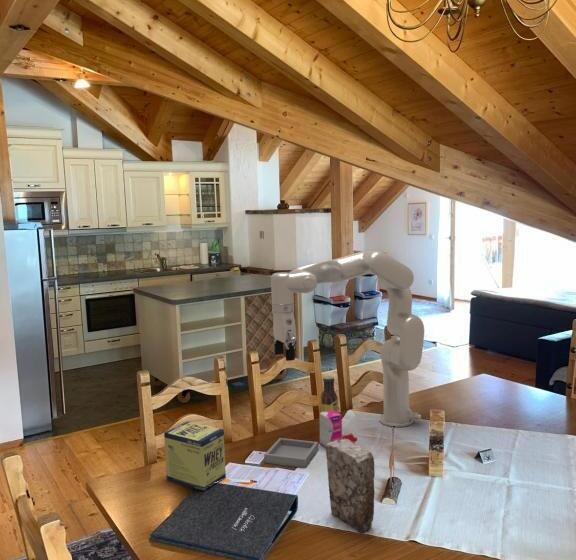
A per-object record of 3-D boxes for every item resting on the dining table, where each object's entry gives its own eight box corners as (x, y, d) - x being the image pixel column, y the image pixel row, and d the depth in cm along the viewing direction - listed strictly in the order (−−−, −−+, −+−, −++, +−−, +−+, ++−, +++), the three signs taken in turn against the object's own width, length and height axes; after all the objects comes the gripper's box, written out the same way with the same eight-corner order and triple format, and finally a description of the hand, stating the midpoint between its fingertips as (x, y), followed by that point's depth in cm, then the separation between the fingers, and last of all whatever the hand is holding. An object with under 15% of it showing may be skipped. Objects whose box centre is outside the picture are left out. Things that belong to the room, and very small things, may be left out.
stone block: (324, 515, 147) (322, 442, 144) (343, 505, 151) (341, 435, 149) (361, 536, 136) (359, 458, 134) (380, 525, 141) (379, 450, 138)
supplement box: (328, 450, 187) (327, 417, 186) (319, 444, 192) (318, 412, 191) (342, 446, 190) (342, 414, 188) (333, 440, 195) (332, 409, 193)
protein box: (204, 492, 161) (201, 441, 159) (165, 480, 169) (162, 431, 168) (227, 477, 170) (224, 428, 168) (189, 466, 178) (186, 420, 176)
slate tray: (318, 450, 187) (318, 442, 187) (305, 468, 174) (305, 459, 174) (280, 445, 192) (279, 437, 192) (264, 462, 179) (264, 454, 179)
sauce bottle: (337, 433, 200) (336, 380, 198) (320, 433, 202) (318, 380, 199) (339, 427, 207) (338, 375, 205) (322, 426, 208) (321, 375, 206)
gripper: (303, 311, 183) (305, 361, 185) (283, 304, 199) (284, 350, 201) (282, 313, 180) (284, 364, 182) (263, 306, 196) (265, 353, 198)
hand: (284, 357), depth 192 cm, fingers open, 9 cm apart
